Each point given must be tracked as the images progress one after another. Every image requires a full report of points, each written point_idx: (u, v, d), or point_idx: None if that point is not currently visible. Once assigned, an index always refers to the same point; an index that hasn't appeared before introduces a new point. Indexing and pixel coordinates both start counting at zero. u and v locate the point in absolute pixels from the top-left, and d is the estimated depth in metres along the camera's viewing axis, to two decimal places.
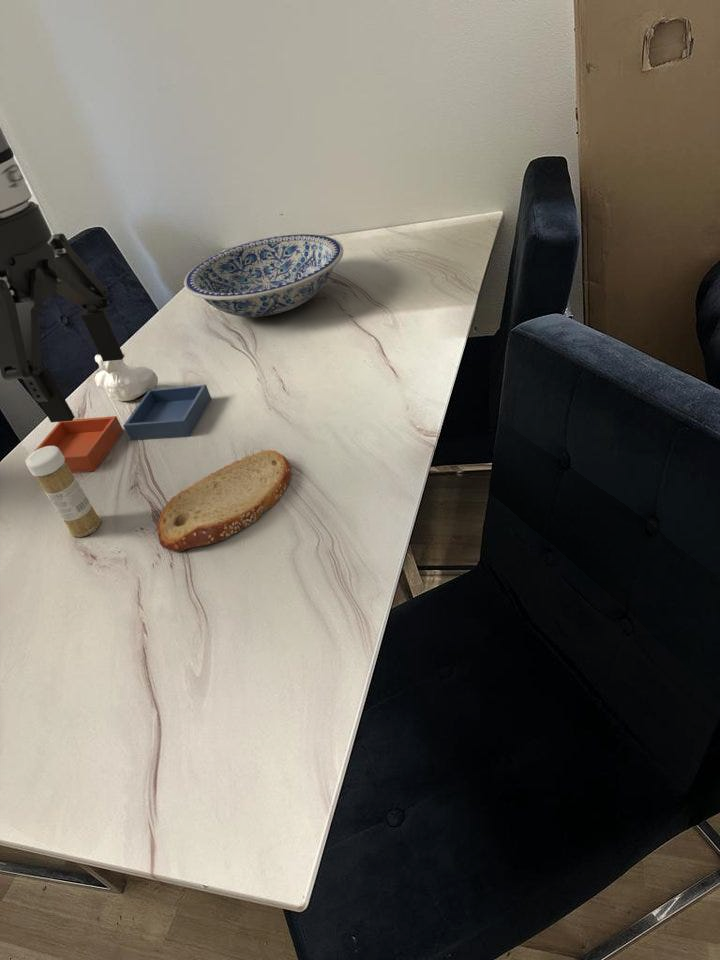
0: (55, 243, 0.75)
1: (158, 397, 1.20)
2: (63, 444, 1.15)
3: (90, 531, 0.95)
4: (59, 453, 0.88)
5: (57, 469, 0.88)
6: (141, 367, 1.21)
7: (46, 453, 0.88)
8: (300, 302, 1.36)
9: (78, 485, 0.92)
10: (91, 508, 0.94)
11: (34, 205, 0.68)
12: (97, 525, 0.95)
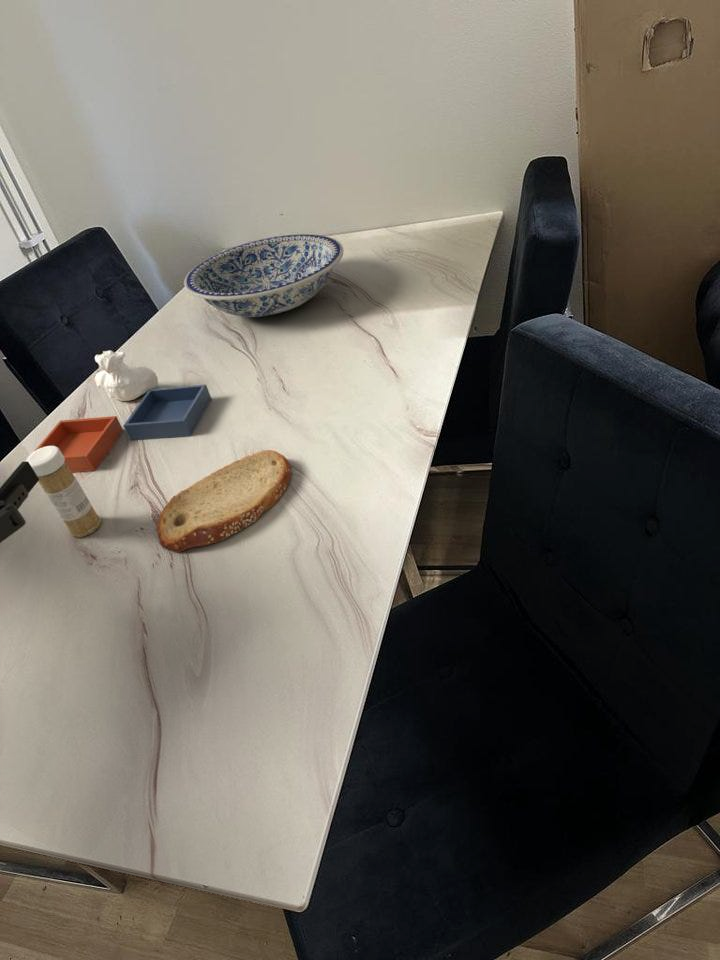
0: None
1: (158, 397, 1.20)
2: (63, 444, 1.15)
3: (90, 531, 0.95)
4: (59, 453, 0.88)
5: (57, 469, 0.88)
6: (141, 367, 1.21)
7: (46, 453, 0.88)
8: (300, 302, 1.36)
9: (78, 485, 0.92)
10: (91, 508, 0.94)
11: None
12: (97, 525, 0.95)
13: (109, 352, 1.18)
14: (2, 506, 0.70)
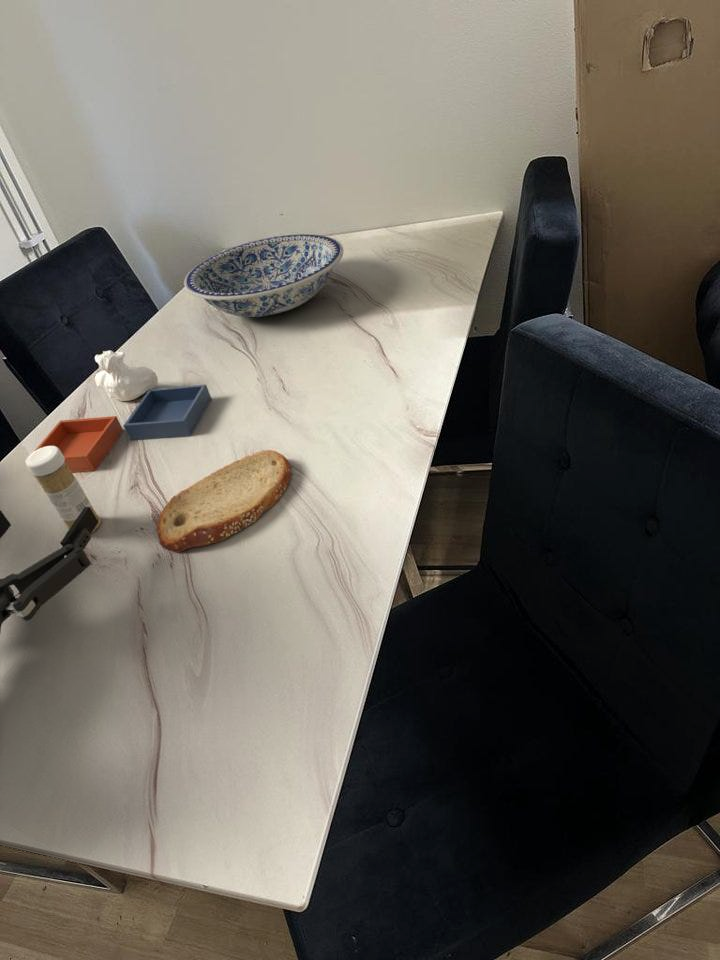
0: None
1: (158, 397, 1.20)
2: (63, 444, 1.15)
3: None
4: (59, 453, 0.88)
5: (57, 469, 0.88)
6: (141, 367, 1.21)
7: (46, 453, 0.88)
8: (300, 302, 1.36)
9: (78, 485, 0.92)
10: (91, 508, 0.94)
11: None
12: (97, 525, 0.95)
13: (109, 352, 1.18)
14: (71, 549, 0.80)
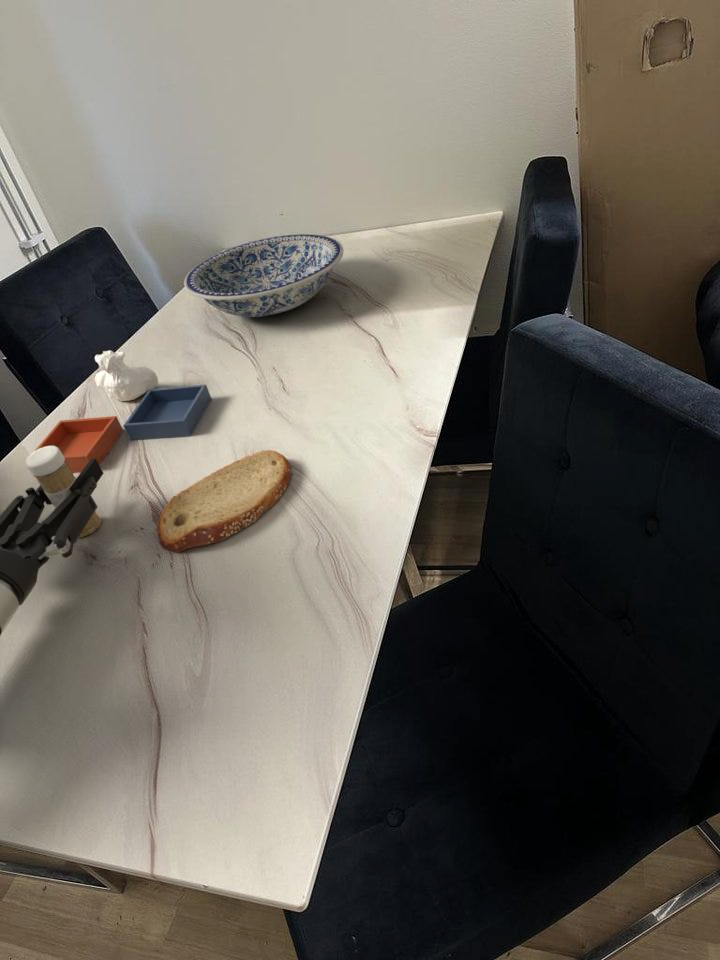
0: None
1: (158, 397, 1.20)
2: (63, 444, 1.15)
3: (90, 531, 0.95)
4: (59, 453, 0.88)
5: (57, 469, 0.88)
6: (141, 367, 1.21)
7: (46, 453, 0.88)
8: (300, 302, 1.36)
9: None
10: None
11: None
12: (97, 525, 0.95)
13: (109, 352, 1.18)
14: (80, 492, 0.89)
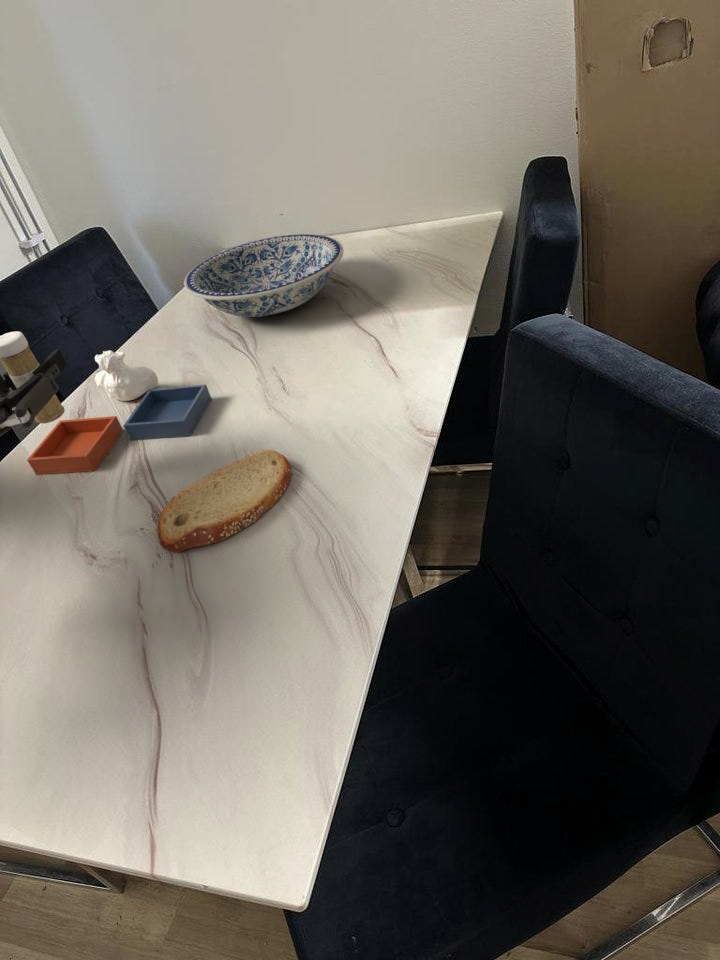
0: None
1: (158, 397, 1.20)
2: (63, 444, 1.15)
3: (54, 418, 1.00)
4: (22, 337, 0.94)
5: (20, 351, 0.93)
6: (141, 367, 1.21)
7: (10, 336, 0.94)
8: (300, 302, 1.36)
9: None
10: (55, 396, 1.00)
11: None
12: (61, 413, 1.01)
13: (109, 352, 1.18)
14: (42, 375, 0.95)
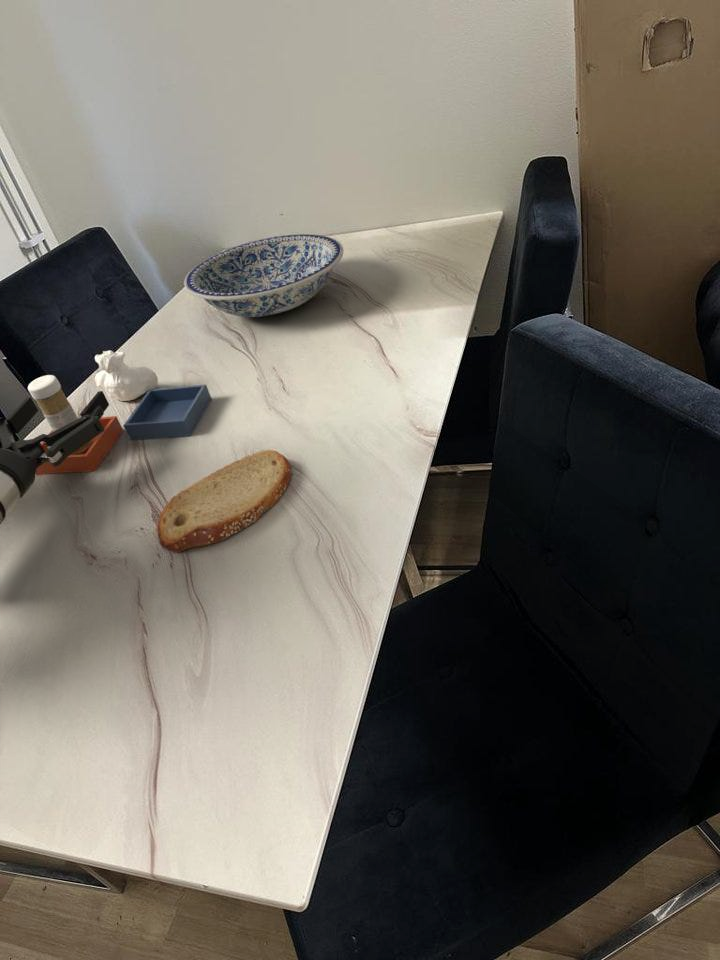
0: None
1: (158, 397, 1.20)
2: None
3: (82, 451, 1.11)
4: (56, 380, 1.05)
5: (54, 393, 1.04)
6: (141, 367, 1.21)
7: (45, 380, 1.05)
8: (300, 302, 1.36)
9: (72, 410, 1.08)
10: None
11: None
12: (88, 446, 1.12)
13: (109, 352, 1.18)
14: (89, 418, 1.02)
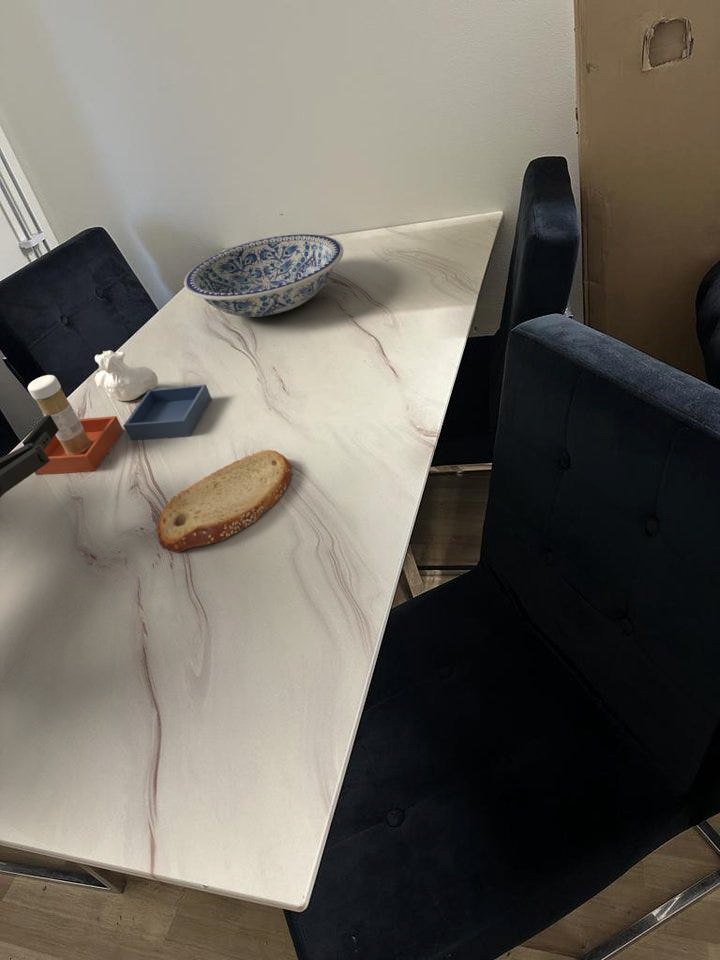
0: None
1: (158, 397, 1.20)
2: None
3: (82, 451, 1.11)
4: (56, 380, 1.05)
5: (54, 393, 1.04)
6: (141, 367, 1.21)
7: (44, 380, 1.05)
8: (300, 302, 1.36)
9: (72, 410, 1.08)
10: (83, 431, 1.11)
11: None
12: (88, 446, 1.12)
13: (109, 352, 1.18)
14: (32, 447, 0.90)
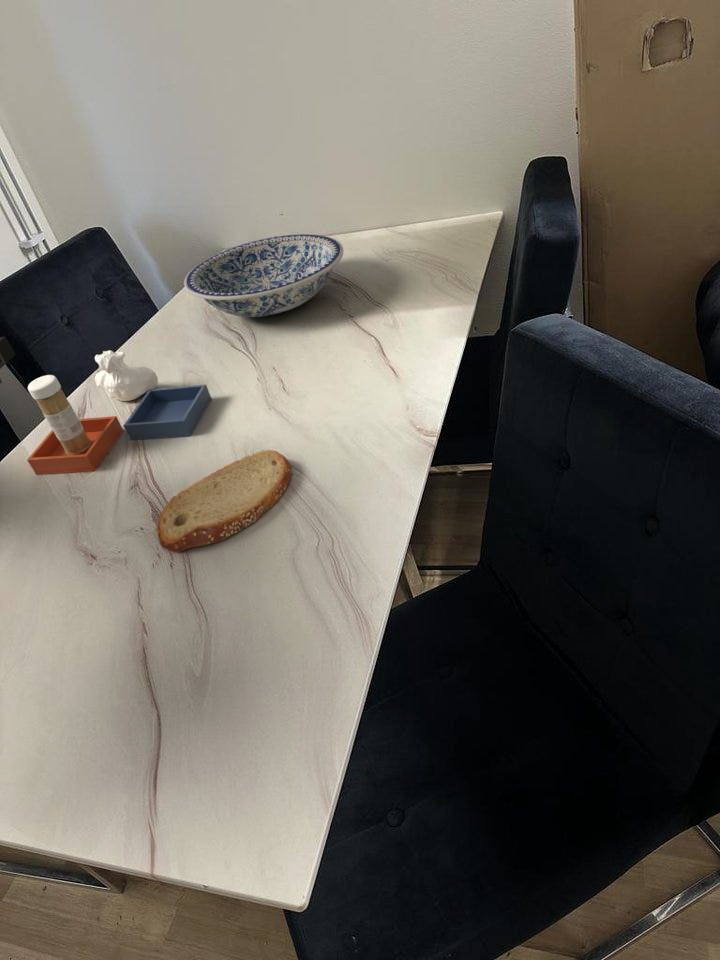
0: None
1: (158, 397, 1.20)
2: None
3: (82, 451, 1.11)
4: (56, 380, 1.05)
5: (54, 393, 1.04)
6: (141, 367, 1.21)
7: (44, 380, 1.05)
8: (300, 302, 1.36)
9: (72, 410, 1.08)
10: (83, 431, 1.11)
11: None
12: (88, 446, 1.12)
13: (109, 352, 1.18)
14: None
